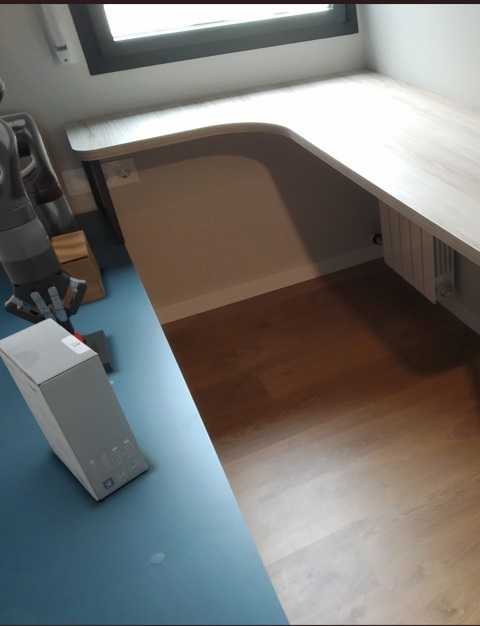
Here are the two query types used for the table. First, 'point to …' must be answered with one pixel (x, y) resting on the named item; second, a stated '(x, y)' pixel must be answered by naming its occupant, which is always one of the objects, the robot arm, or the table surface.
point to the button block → (99, 348)
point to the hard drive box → (74, 405)
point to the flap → (70, 246)
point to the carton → (88, 271)
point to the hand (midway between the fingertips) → (67, 338)
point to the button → (78, 336)
